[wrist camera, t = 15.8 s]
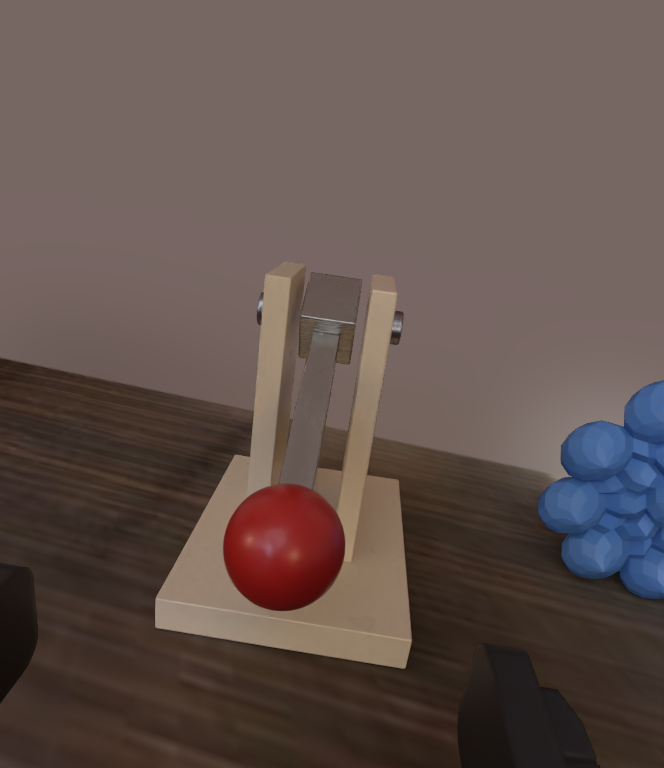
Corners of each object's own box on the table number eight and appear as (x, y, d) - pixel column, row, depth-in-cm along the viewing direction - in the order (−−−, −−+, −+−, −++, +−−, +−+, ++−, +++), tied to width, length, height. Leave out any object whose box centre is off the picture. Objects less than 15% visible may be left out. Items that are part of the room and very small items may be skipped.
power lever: (332, 635, 15) (342, 597, 13) (214, 616, 15) (199, 574, 13) (369, 332, 24) (381, 269, 21) (293, 321, 24) (294, 257, 21)
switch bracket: (405, 669, 20) (487, 326, 15) (154, 628, 20) (158, 279, 16) (394, 500, 31) (439, 273, 26) (233, 475, 32) (249, 246, 27)
